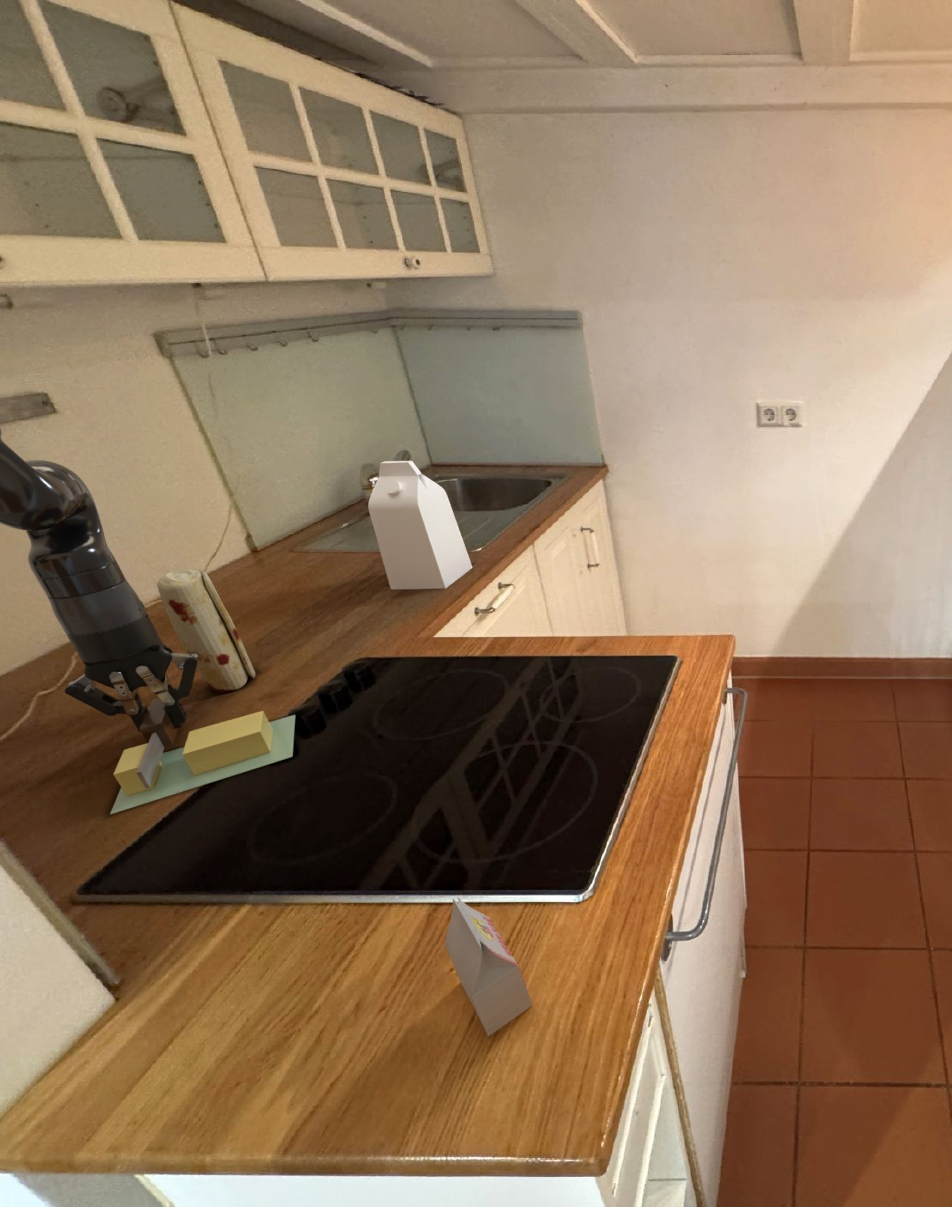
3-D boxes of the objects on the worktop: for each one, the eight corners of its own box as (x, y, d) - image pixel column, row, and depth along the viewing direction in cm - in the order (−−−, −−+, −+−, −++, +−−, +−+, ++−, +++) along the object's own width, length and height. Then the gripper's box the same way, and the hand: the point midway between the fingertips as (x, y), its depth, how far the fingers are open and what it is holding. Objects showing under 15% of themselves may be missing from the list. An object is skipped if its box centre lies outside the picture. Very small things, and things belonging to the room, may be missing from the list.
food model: (206, 680, 109) (148, 569, 100) (257, 666, 113) (205, 557, 104) (208, 705, 102) (146, 588, 93) (262, 688, 106) (207, 574, 97)
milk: (472, 567, 151) (440, 454, 139) (445, 588, 140) (408, 468, 129) (421, 568, 151) (384, 456, 140) (390, 589, 141) (348, 469, 129)
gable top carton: (490, 1042, 55) (458, 963, 50) (463, 988, 59) (430, 911, 55) (534, 1011, 57) (506, 932, 52) (504, 961, 61) (476, 884, 57)
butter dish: (113, 820, 80) (109, 814, 79) (135, 768, 89) (131, 762, 88) (295, 762, 89) (292, 756, 88) (297, 720, 98) (295, 714, 97)
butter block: (194, 775, 85) (181, 754, 84) (200, 752, 90) (188, 731, 88) (270, 752, 89) (260, 731, 88) (273, 730, 94) (263, 710, 92)
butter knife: (135, 791, 81) (121, 768, 79) (163, 720, 95) (152, 699, 94) (159, 784, 82) (146, 761, 80) (183, 714, 96) (172, 693, 95)
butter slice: (127, 796, 82) (112, 774, 80) (137, 770, 87) (123, 749, 85) (153, 788, 83) (140, 766, 82) (162, 763, 88) (149, 742, 86)
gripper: (17, 646, 78) (91, 761, 86) (171, 614, 85) (227, 723, 93) (37, 623, 84) (105, 733, 91) (180, 595, 91) (232, 699, 98)
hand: (166, 728), depth 92 cm, fingers closed on butter knife, 2 cm apart
